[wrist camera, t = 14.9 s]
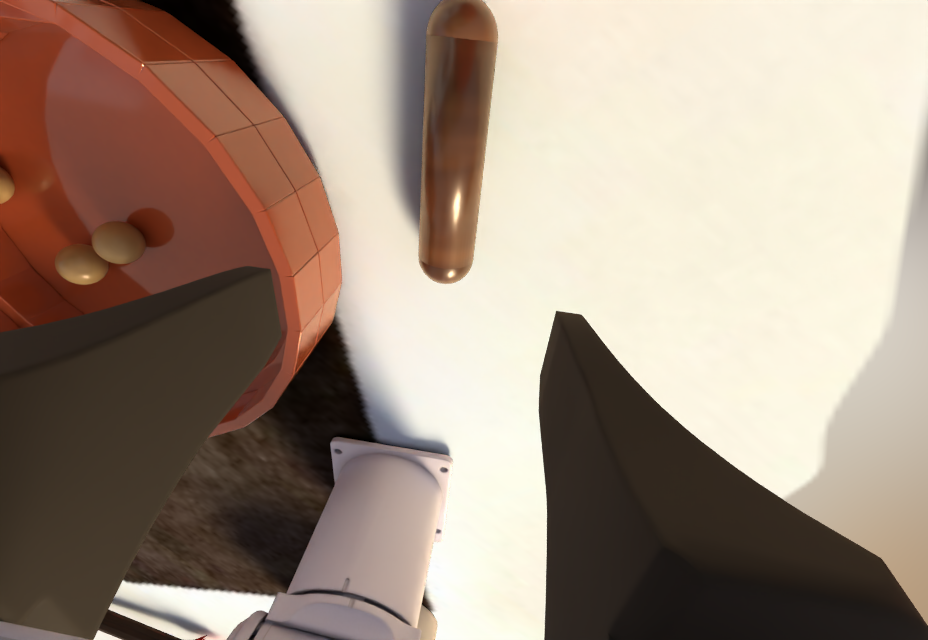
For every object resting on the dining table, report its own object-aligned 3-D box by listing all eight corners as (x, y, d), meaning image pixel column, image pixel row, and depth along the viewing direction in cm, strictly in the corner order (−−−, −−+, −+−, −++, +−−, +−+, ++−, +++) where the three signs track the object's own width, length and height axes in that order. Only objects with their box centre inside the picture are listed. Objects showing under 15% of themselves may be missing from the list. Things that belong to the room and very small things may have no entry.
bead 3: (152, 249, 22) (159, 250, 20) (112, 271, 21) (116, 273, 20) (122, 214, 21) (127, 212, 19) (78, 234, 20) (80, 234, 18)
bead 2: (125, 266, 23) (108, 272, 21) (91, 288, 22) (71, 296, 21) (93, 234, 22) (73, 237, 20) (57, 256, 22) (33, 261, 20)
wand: (-60, 575, 43) (219, 686, 46) (-16, 538, 47) (241, 644, 50) (-52, 591, 45) (213, 696, 49) (-10, 554, 49) (235, 655, 52)
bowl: (354, 398, 26) (320, 466, 22) (59, 350, 27) (-28, 406, 23) (328, 8, 15) (253, -6, 11) (-153, -44, 17) (-385, -75, 12)
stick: (478, 276, 20) (458, 299, 18) (431, 264, 21) (408, 284, 19) (511, 1, 14) (488, -9, 12) (446, -5, 15) (414, -15, 13)
